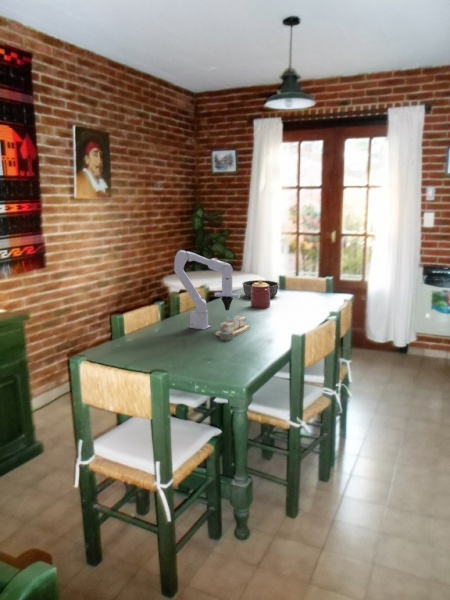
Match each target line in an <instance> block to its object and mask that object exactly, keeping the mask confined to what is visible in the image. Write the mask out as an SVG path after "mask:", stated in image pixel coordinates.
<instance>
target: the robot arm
mask: <svg viewBox="0 0 450 600" xmlns="http://www.w3.org/2000/svg"><path fill="white" fill-rule="evenodd" d="M192 261H194V262H197V263H200V264H203V265H206V266H207V267H208V269H210V270H213V271H216V272H219V273H221V276H222V277H221V292H214V297H220V298H221V302H222V304H223V307H224V310H225V311H229V310H230V307H231V305H232V302H233V300H234V299H240V298H241V294H240V293H235V292H234V293H233V272H234V269H233V267H232V265H231V264H230V263H228V262H226V261H221V260H218V258H217V257H213V258H210V259H209V258H206V257H204V256H201V255H199V254H197V253H194V252H192V251H188V250H187V251H186V250H184V249H179V250H178V251H177V252H176V254H175V256H174V264H173V265H174V266H173V267H174V268H173V269H174V271H173V272H174V273H175V275H176V276H177V278H178V279H179V281H180V283H181V284H182V286H183V287H184V289H185V290H186V292H187V294H188V296H190V299H191V300H192V302H193V305H194V307H195V309H194V310H192V311H191V312H190V314H189V325H190V326H189V328H191V329H197V330H206V329H209V328H210V327H212V325H209V314H208V313H209V311H208V304H207V301H206V299H205V298H203V297H202V296H201V294H200V293H199V292H198V290H197V288H196V287H195V286H194V284H193V283H192V281H191V279H190V278H189V276H188V274H187V273H186V272H185V270H184V268H185V264H186V263H187V262H192Z"/></svg>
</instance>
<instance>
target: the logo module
mask: <svg viewBox="0 0 450 600" xmlns="http://www.w3.org/2000/svg"><path fill="white" fill-rule="evenodd" d="M239 316H240V315H234V314H233V315H229V316H227V317H226V321H227V322H234V329H236V328H238V327H239Z"/></svg>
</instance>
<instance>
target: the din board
mask: <svg viewBox="0 0 450 600" xmlns="http://www.w3.org/2000/svg"><path fill="white" fill-rule="evenodd" d="M238 316H239V327H238V328H236V329H234V322H227V320H226V321H223V322H222V323H219V329H220V330H218V331H216V332H215V336H218V337H220V333H221V332H224V331H226V332H231V333H233V338H235V337H237V336H239V335H240V334H242V333H244V332H246V331H248V330H250V329H251V326H250V325H246V324H247V318H246V317H247V316H240V315H238Z"/></svg>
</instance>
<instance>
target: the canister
mask: <svg viewBox="0 0 450 600" xmlns="http://www.w3.org/2000/svg"><path fill="white" fill-rule="evenodd" d="M258 280H259V281H258V282H257V283H254V284H253V285H252V288H251V298H250V307H251V308H254V309H268V308H270V307H271V298H270V288H269V287H268V286H269V285H268V284H267V283H263V282H262V279H258Z"/></svg>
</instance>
